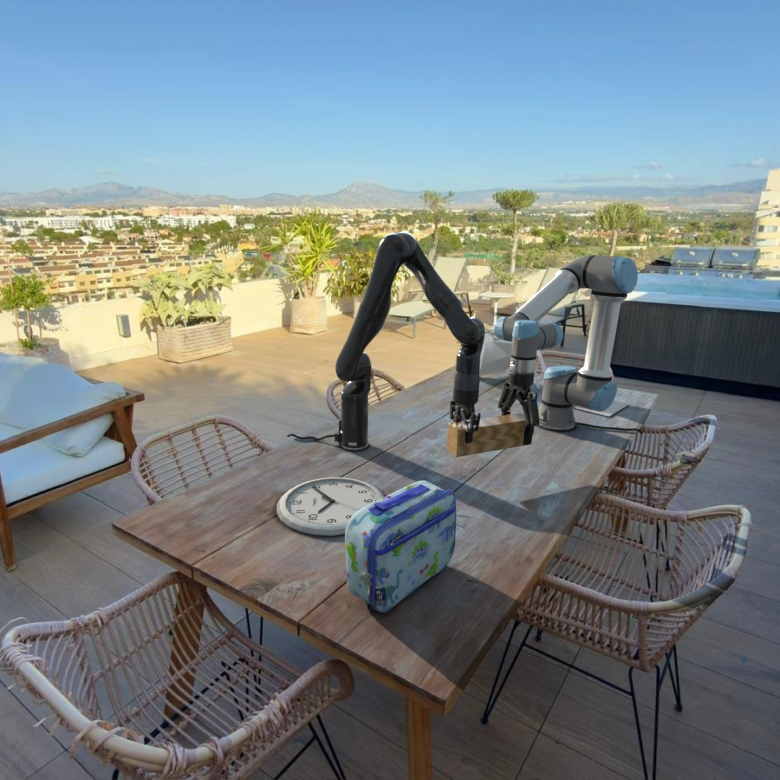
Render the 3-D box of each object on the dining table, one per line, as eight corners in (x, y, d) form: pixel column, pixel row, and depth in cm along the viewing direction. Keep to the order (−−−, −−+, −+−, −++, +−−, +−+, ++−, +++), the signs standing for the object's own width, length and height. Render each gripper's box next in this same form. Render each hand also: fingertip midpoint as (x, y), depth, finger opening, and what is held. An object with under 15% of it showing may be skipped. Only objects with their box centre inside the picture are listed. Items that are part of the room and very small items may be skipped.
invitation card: (608, 416, 214) (573, 407, 224) (608, 416, 214) (573, 408, 224) (628, 404, 229) (594, 396, 238) (628, 405, 229) (594, 397, 238)
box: (518, 437, 172) (521, 413, 169) (530, 444, 166) (532, 419, 164) (446, 449, 161) (448, 423, 159) (456, 457, 156) (458, 430, 154)
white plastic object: (486, 418, 267) (465, 395, 242) (467, 346, 289) (447, 318, 264) (556, 394, 255) (543, 367, 230) (531, 321, 277) (516, 289, 252)
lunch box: (374, 626, 100) (375, 530, 93) (338, 598, 107) (337, 508, 101) (459, 568, 117) (465, 484, 111) (424, 547, 124) (427, 467, 118)
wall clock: (392, 527, 129) (268, 531, 127) (391, 533, 130) (269, 537, 127) (383, 473, 158) (282, 475, 155) (383, 478, 158) (282, 480, 156)
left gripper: (443, 380, 159) (440, 432, 164) (468, 394, 146) (464, 449, 151) (464, 378, 162) (461, 428, 167) (490, 391, 149) (486, 446, 154)
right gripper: (490, 363, 169) (485, 426, 176) (536, 382, 149) (529, 453, 155) (509, 361, 172) (504, 423, 179) (557, 380, 152) (549, 449, 158)
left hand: (462, 438), depth 159 cm, fingers closed on box, 6 cm apart
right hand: (515, 437), depth 167 cm, fingers open, 11 cm apart
